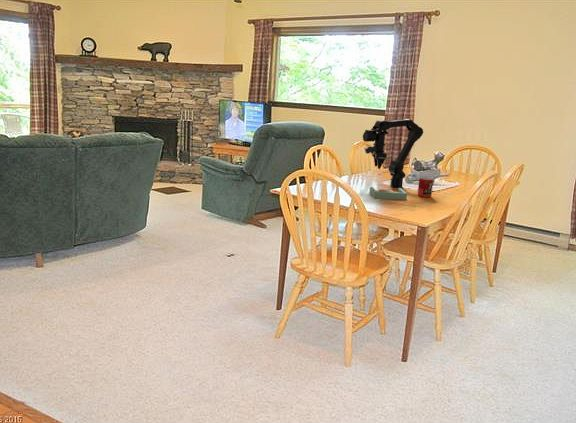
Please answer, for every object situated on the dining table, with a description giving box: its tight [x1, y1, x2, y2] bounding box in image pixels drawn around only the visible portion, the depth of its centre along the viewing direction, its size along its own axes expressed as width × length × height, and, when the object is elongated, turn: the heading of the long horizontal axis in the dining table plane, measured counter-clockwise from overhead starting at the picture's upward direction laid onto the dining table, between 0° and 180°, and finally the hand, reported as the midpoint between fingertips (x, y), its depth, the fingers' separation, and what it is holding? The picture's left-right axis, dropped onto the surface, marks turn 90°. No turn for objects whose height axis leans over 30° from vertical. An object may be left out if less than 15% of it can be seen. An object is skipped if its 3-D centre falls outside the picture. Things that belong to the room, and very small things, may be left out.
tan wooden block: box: [378, 188, 394, 192], centre depth 295 cm, size 7×7×4 cm
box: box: [369, 186, 408, 201], centre depth 296 cm, size 18×14×4 cm
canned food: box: [417, 175, 434, 199], centre depth 300 cm, size 8×8×11 cm
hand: (377, 167), depth 318 cm, fingers open, 9 cm apart
